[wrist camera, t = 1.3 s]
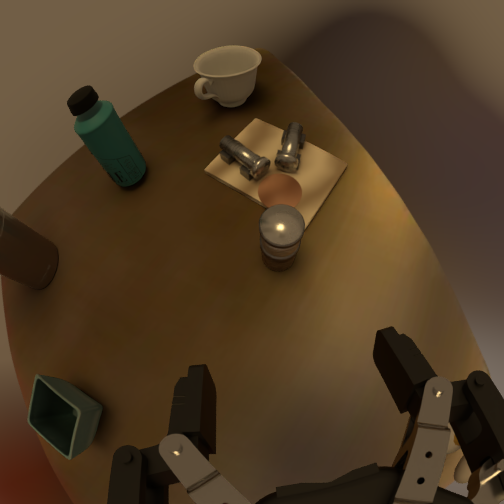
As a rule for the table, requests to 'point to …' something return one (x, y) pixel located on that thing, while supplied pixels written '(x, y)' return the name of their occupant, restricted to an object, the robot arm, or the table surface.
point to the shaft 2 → (290, 148)
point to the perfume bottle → (462, 467)
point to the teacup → (227, 74)
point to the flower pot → (63, 415)
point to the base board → (281, 173)
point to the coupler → (280, 236)
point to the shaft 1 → (243, 158)
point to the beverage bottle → (106, 137)
